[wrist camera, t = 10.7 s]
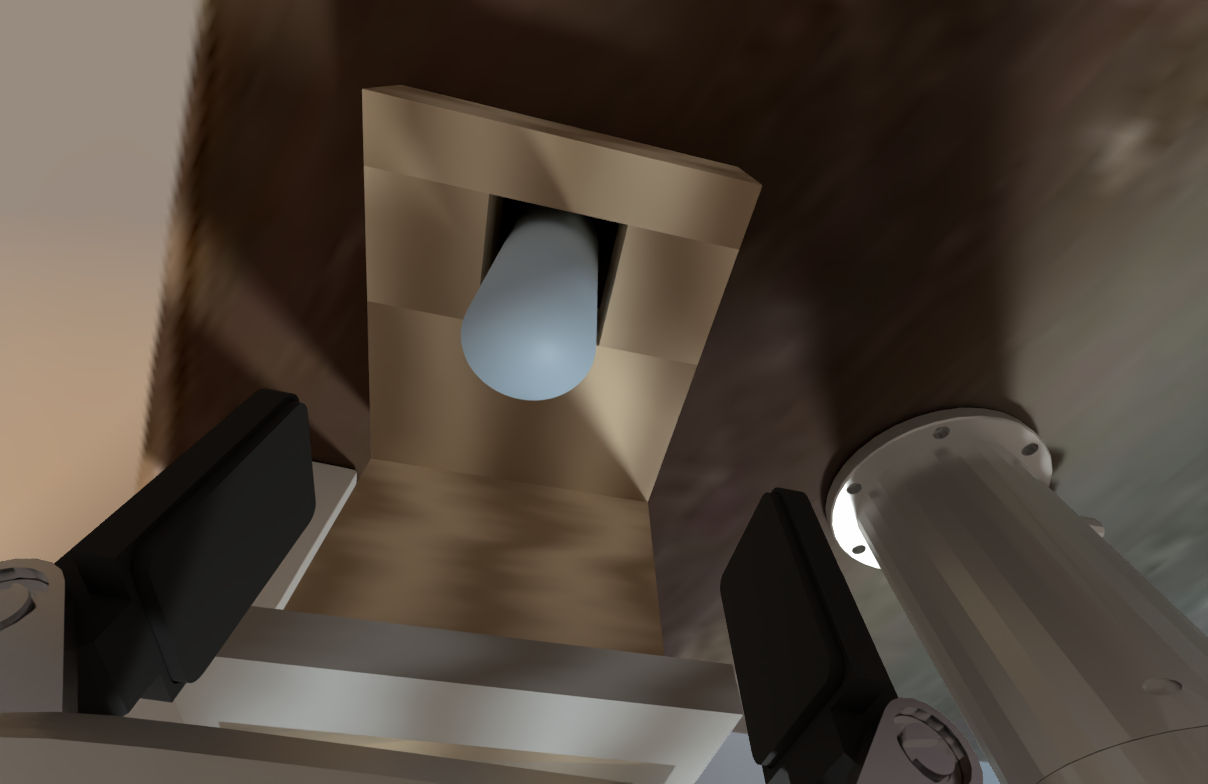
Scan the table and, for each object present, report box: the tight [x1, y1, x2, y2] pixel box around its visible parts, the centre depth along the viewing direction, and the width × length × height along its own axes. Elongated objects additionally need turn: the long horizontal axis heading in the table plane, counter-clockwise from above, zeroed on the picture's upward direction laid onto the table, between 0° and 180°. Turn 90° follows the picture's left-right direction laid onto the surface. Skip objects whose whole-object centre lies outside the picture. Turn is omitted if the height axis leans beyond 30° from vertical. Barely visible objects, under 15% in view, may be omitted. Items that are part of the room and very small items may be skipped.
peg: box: [461, 204, 599, 400], centre depth 20 cm, size 4×4×10 cm
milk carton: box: [125, 461, 357, 724], centre depth 24 cm, size 7×7×19 cm
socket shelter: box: [174, 85, 762, 784], centre depth 19 cm, size 16×18×16 cm
